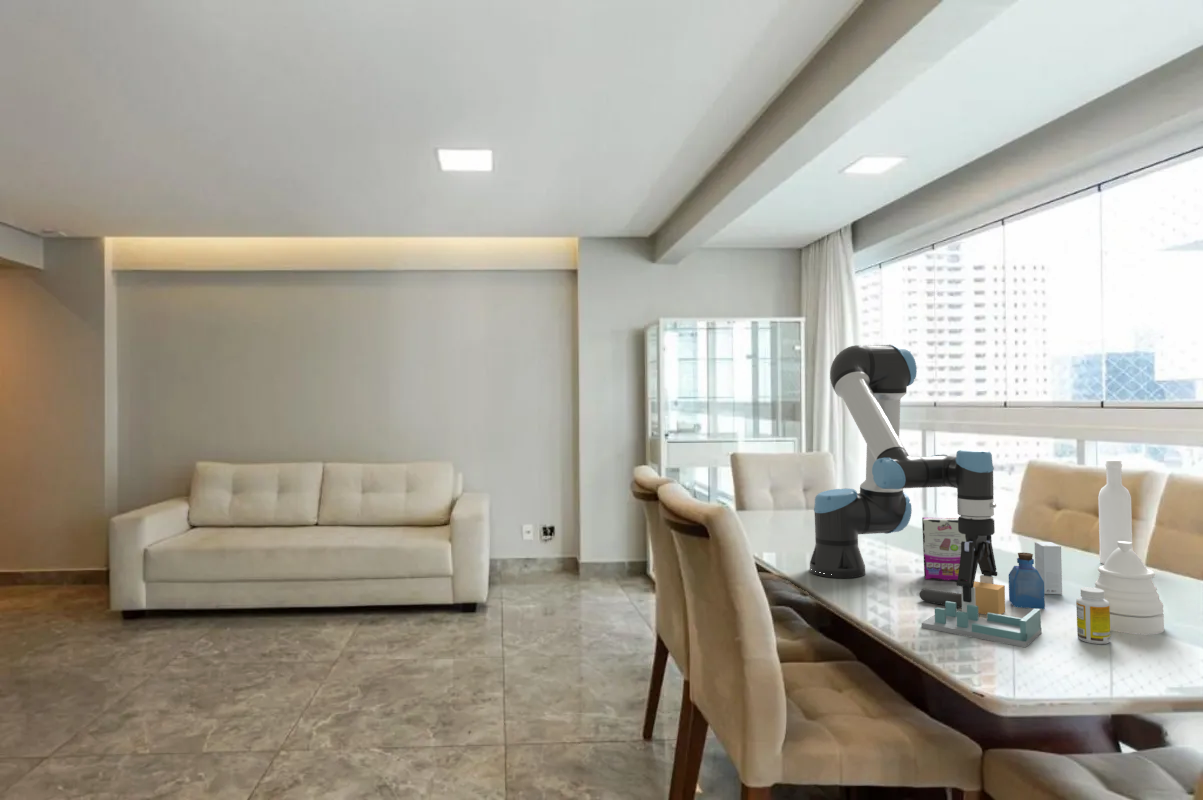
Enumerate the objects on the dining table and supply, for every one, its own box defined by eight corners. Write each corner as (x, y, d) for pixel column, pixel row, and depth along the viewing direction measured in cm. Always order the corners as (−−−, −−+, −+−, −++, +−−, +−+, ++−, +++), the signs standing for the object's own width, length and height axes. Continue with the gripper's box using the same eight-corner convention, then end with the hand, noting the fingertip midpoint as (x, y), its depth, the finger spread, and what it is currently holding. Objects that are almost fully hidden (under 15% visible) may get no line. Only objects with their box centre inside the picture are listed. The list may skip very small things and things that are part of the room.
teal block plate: (921, 627, 158) (920, 604, 158) (941, 615, 167) (941, 593, 167) (1025, 647, 144) (1024, 621, 144) (1041, 632, 153) (1041, 608, 153)
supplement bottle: (1116, 641, 146) (1114, 590, 146) (1102, 647, 143) (1101, 594, 143) (1085, 634, 151) (1084, 584, 151) (1071, 639, 148) (1070, 588, 148)
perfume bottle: (1038, 602, 175) (1037, 551, 175) (1044, 609, 170) (1043, 557, 170) (1009, 600, 177) (1007, 550, 177) (1014, 607, 172) (1013, 556, 172)
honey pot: (1167, 638, 148) (1165, 548, 148) (1091, 628, 155) (1089, 543, 155) (1160, 621, 159) (1158, 538, 159) (1089, 613, 166) (1087, 533, 166)
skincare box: (1063, 594, 181) (1061, 546, 181) (1044, 594, 182) (1042, 546, 182) (1053, 588, 187) (1051, 541, 187) (1034, 588, 188) (1033, 541, 188)
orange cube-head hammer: (916, 602, 177) (915, 577, 177) (923, 598, 181) (923, 574, 181) (998, 616, 164) (997, 589, 164) (1005, 611, 168) (1004, 585, 168)
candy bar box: (968, 578, 200) (966, 517, 200) (969, 582, 195) (968, 520, 195) (923, 575, 204) (921, 516, 204) (923, 579, 199) (922, 519, 199)
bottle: (1132, 562, 213) (1129, 459, 213) (1134, 568, 206) (1131, 461, 206) (1099, 560, 217) (1096, 458, 217) (1100, 565, 211) (1097, 460, 211)
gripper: (975, 525, 158) (978, 624, 158) (1009, 511, 176) (1011, 601, 176) (939, 522, 164) (942, 618, 163) (975, 509, 181) (978, 595, 181)
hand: (978, 609), depth 170 cm, fingers open, 12 cm apart
